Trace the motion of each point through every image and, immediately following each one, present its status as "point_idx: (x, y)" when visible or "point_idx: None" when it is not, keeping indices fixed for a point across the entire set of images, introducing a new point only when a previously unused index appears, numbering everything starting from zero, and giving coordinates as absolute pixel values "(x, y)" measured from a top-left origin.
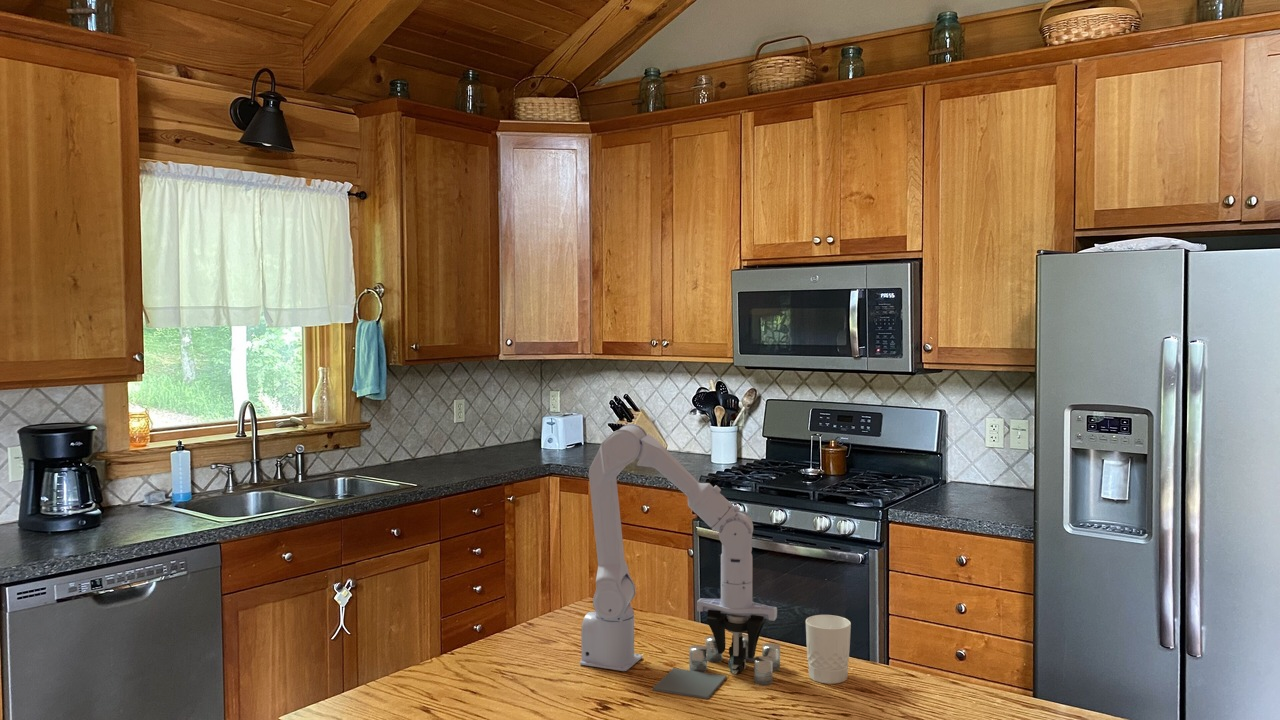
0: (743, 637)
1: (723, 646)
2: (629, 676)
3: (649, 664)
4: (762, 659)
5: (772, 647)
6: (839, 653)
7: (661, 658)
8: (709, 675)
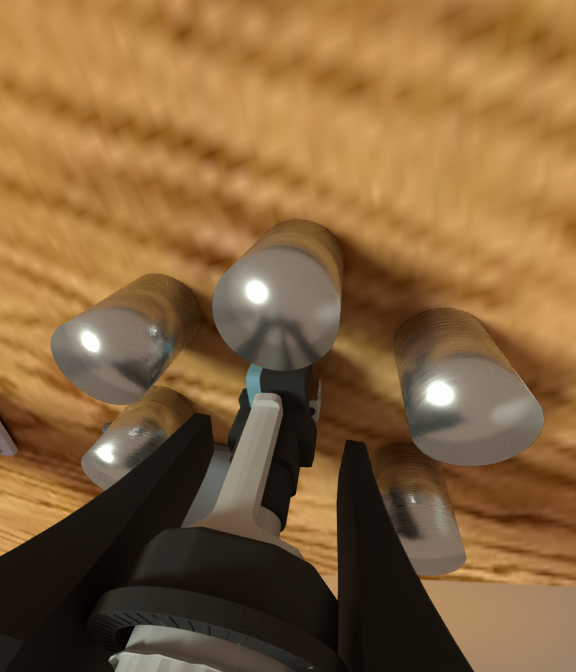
0: (252, 312)
1: (201, 452)
2: (46, 464)
3: (21, 395)
4: (415, 554)
5: (480, 445)
6: None
7: (7, 344)
8: (223, 462)
